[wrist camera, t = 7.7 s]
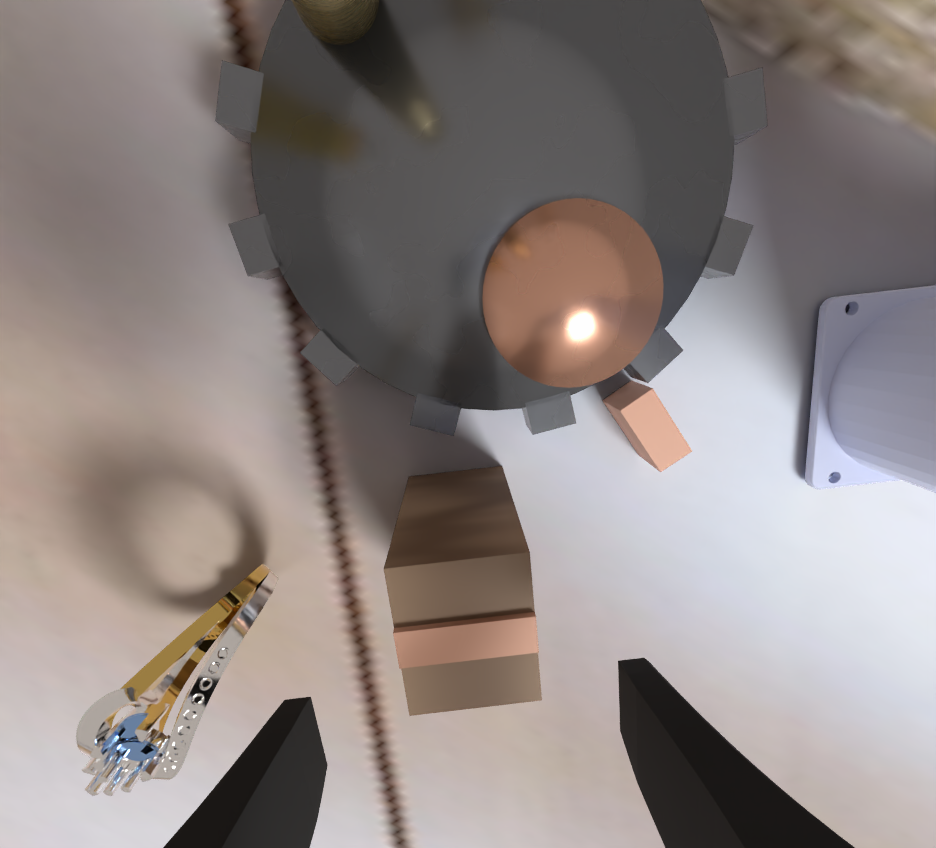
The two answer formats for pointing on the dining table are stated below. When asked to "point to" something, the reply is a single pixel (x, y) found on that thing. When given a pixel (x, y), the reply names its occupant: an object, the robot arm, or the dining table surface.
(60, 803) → the dining table surface
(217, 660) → the ring
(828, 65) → the dining table surface
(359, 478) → the dining table surface
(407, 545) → the wooden block
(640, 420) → the peach rectangular prism
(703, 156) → the sprocket
